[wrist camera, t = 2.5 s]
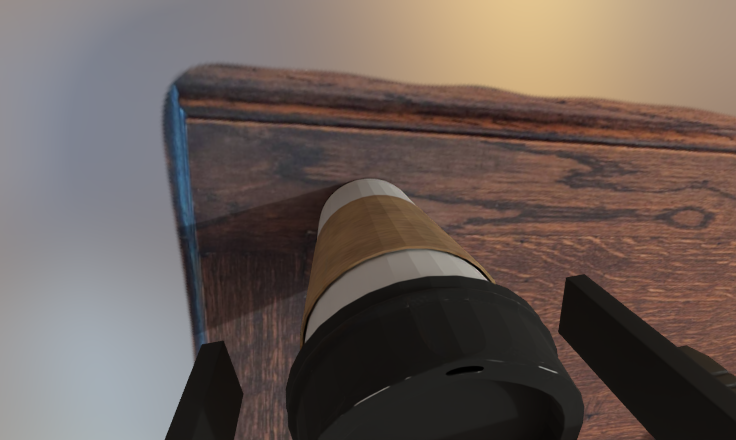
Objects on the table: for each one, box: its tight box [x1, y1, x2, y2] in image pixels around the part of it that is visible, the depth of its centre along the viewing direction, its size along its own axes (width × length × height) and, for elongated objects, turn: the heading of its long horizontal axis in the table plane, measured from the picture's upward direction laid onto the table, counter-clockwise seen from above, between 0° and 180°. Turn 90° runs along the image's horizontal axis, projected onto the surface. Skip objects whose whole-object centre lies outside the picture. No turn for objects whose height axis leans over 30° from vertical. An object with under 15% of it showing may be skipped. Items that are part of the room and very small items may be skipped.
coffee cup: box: [286, 179, 584, 440], centre depth 16 cm, size 8×8×15 cm
